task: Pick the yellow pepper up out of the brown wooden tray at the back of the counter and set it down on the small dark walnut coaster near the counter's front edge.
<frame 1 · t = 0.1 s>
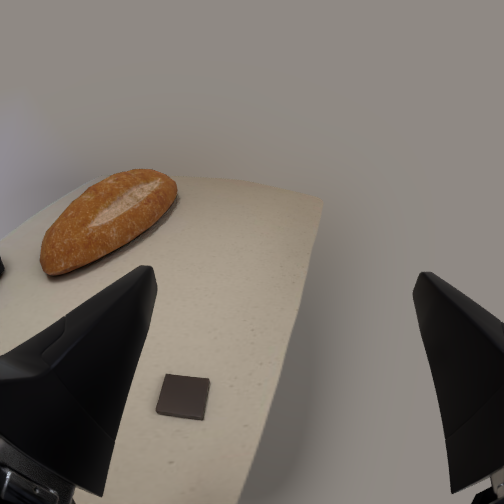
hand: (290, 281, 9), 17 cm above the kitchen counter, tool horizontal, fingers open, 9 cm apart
bread: (117, 226, 50), on the kitchen counter
coaster: (183, 397, 23), on the kitchen counter
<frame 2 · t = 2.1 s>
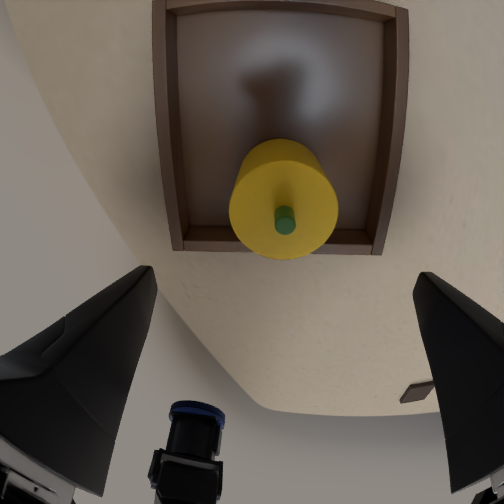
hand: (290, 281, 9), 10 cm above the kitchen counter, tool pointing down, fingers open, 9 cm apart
pepper: (280, 176, 18), resting on brown wooden tray
brown wooden tray: (281, 120, 16), on the kitchen counter
coaster: (417, 390, 32), on the kitchen counter
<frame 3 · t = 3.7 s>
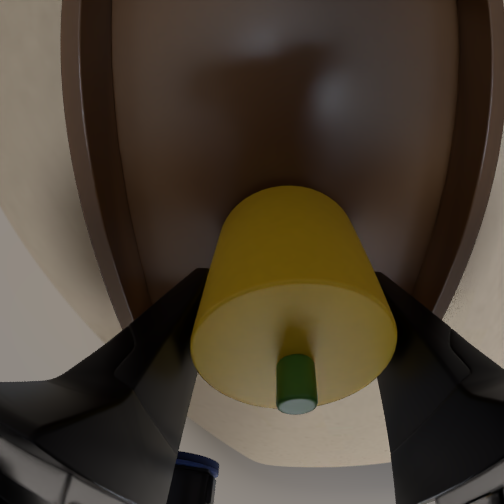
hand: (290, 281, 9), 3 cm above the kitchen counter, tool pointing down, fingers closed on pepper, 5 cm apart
pepper: (287, 244, 11), resting on brown wooden tray, touching gripper
brown wooden tray: (291, 150, 9), on the kitchen counter
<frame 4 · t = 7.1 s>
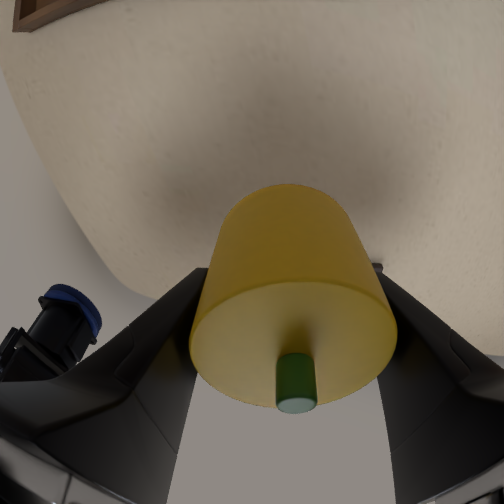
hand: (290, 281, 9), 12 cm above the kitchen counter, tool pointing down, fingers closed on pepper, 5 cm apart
pepper: (286, 243, 11), point 10 cm above the kitchen counter, touching gripper
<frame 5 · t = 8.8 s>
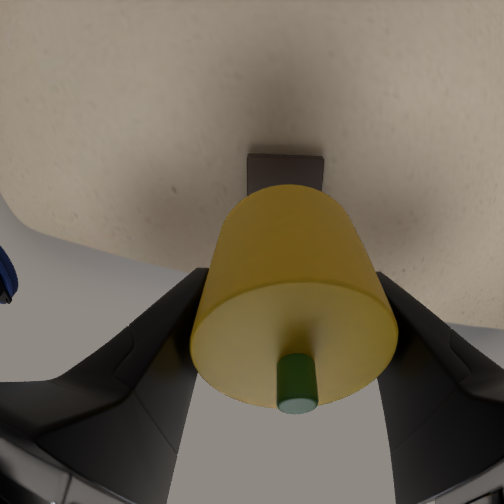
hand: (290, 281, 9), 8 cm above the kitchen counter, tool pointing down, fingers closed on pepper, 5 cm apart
pepper: (287, 243, 11), point 6 cm above the kitchen counter, touching gripper
coaster: (284, 189, 16), on the kitchen counter
when the fingers open (3 cm above the kitchen counter, at t = 10.5 s): pepper stays where it is, resting on coaster.
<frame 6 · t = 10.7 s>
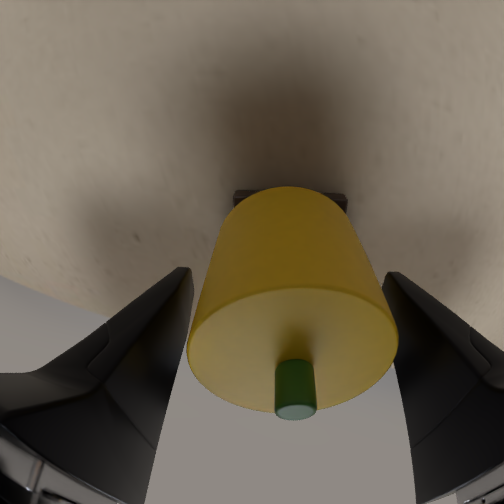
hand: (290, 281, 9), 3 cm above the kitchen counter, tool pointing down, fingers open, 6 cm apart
pepper: (286, 245, 11), point 1 cm above the kitchen counter, touching coaster
coaster: (288, 239, 11), on the kitchen counter
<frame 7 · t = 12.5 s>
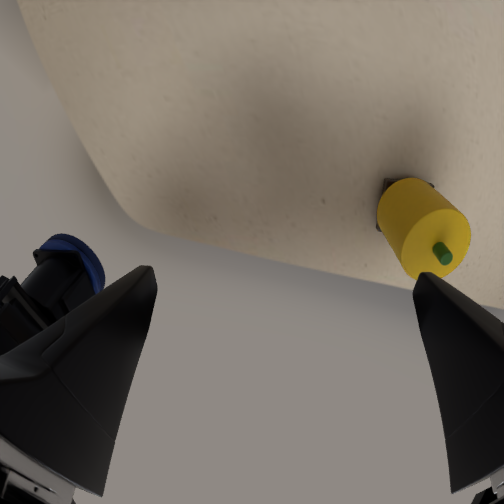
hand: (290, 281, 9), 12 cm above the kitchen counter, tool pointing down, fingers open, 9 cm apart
pepper: (406, 208, 19), point 1 cm above the kitchen counter, touching coaster
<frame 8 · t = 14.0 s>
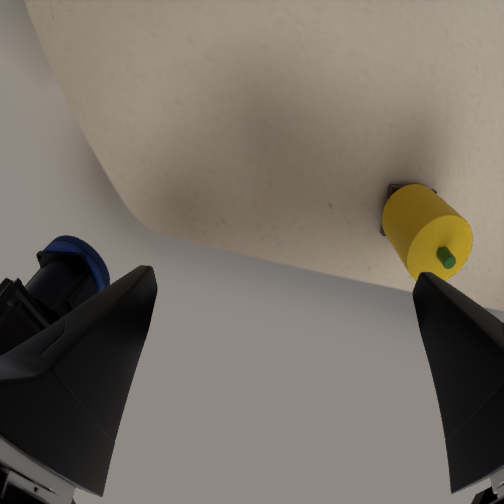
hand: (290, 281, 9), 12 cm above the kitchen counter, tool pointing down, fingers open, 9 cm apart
pepper: (409, 213, 20), point 1 cm above the kitchen counter, touching coaster
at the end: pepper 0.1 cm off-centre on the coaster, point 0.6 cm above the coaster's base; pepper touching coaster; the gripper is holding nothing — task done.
